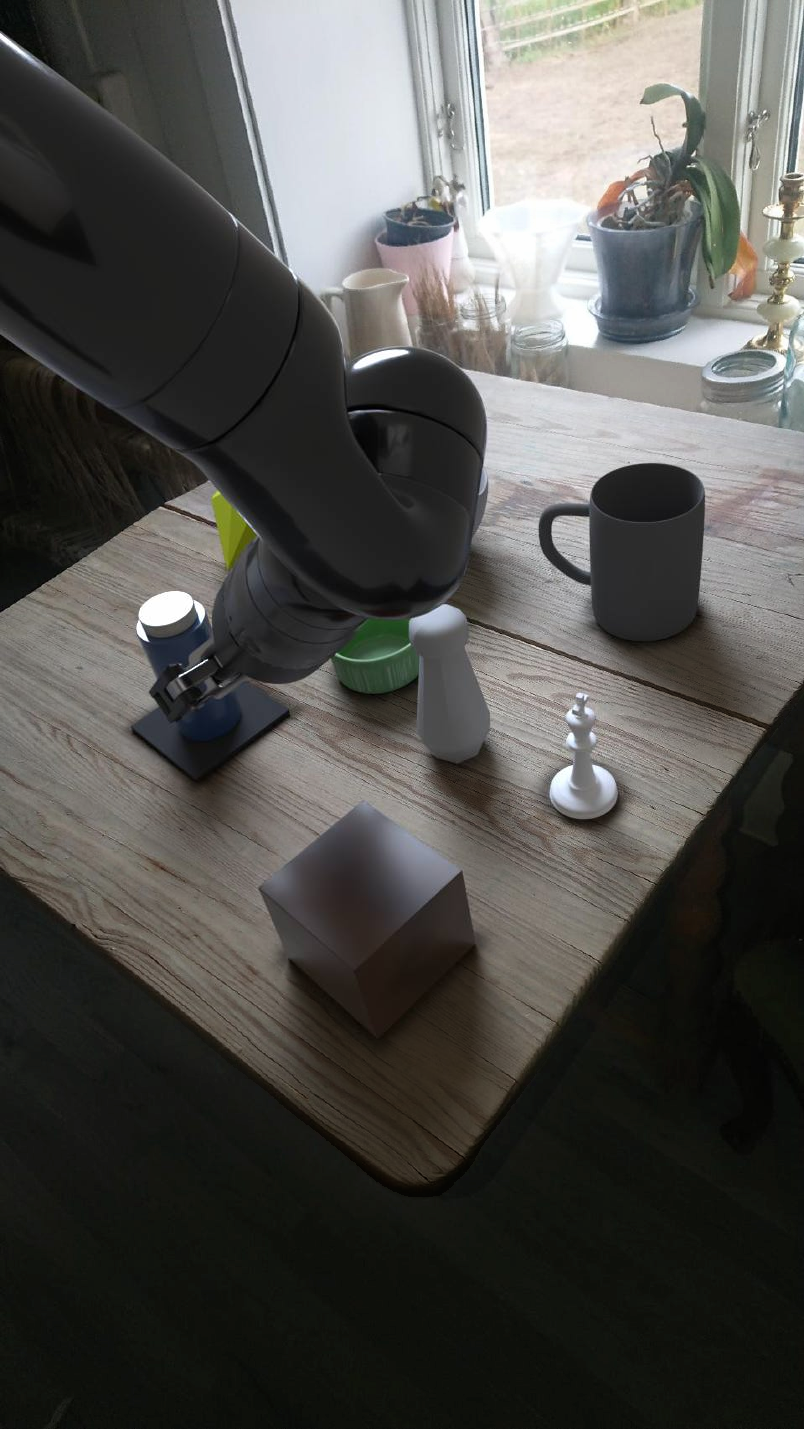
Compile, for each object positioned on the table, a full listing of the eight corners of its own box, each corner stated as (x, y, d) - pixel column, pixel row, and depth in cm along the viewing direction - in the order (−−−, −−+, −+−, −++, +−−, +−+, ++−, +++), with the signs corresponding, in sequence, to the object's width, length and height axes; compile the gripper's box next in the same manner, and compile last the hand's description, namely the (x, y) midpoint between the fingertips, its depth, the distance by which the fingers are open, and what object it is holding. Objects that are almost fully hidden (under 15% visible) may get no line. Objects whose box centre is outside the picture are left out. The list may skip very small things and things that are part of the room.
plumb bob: (288, 596, 96) (352, 439, 111) (242, 528, 90) (316, 371, 105) (214, 608, 100) (286, 455, 115) (165, 543, 94) (247, 390, 109)
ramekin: (440, 633, 88) (434, 594, 85) (420, 702, 82) (413, 663, 79) (346, 630, 90) (336, 593, 87) (319, 698, 84) (308, 659, 81)
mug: (705, 583, 87) (714, 464, 79) (690, 649, 81) (697, 528, 73) (555, 570, 92) (548, 456, 84) (530, 632, 86) (521, 516, 78)
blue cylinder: (202, 751, 81) (155, 640, 73) (165, 722, 84) (116, 613, 76) (254, 713, 83) (215, 602, 75) (216, 686, 87) (174, 577, 78)
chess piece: (628, 781, 72) (629, 682, 65) (600, 828, 69) (598, 730, 63) (567, 761, 74) (562, 663, 68) (538, 806, 72) (529, 709, 65)
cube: (378, 1039, 60) (354, 971, 55) (287, 957, 66) (257, 887, 60) (476, 943, 64) (462, 870, 59) (383, 872, 70) (363, 799, 64)
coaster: (197, 782, 79) (195, 779, 79) (131, 729, 85) (130, 726, 85) (290, 712, 83) (289, 709, 83) (222, 667, 89) (220, 663, 89)
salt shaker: (422, 721, 80) (397, 595, 71) (492, 715, 79) (476, 587, 70) (420, 774, 76) (394, 647, 67) (494, 768, 75) (477, 639, 66)
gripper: (352, 489, 57) (286, 576, 72) (143, 609, 51) (118, 676, 66) (424, 596, 57) (343, 660, 72) (224, 726, 52) (181, 767, 67)
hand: (236, 668), depth 69 cm, fingers open, 8 cm apart
